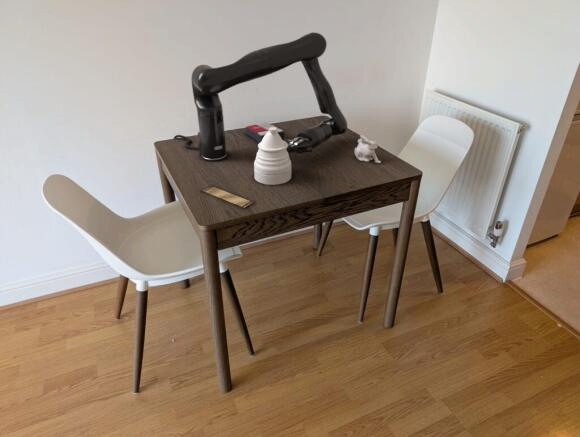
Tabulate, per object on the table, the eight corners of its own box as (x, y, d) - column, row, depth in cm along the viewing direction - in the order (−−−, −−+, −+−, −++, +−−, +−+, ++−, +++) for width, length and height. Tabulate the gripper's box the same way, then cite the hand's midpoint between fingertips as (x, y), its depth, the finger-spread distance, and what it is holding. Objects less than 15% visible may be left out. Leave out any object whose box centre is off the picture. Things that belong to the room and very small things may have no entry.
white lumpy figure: (382, 162, 158) (385, 138, 153) (366, 167, 155) (369, 142, 150) (360, 152, 167) (363, 128, 162) (345, 156, 163) (347, 132, 158)
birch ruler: (203, 191, 139) (203, 190, 138) (212, 186, 141) (212, 186, 141) (244, 208, 129) (244, 207, 129) (253, 203, 132) (252, 202, 132)
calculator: (267, 121, 187) (284, 129, 176) (267, 130, 189) (284, 139, 178) (244, 125, 182) (261, 134, 171) (245, 135, 184) (261, 144, 173)
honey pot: (294, 182, 144) (295, 131, 135) (257, 186, 142) (254, 134, 132) (287, 167, 155) (287, 119, 145) (252, 170, 153) (249, 121, 143)
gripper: (297, 124, 162) (268, 137, 150) (326, 132, 155) (298, 146, 143) (296, 143, 166) (268, 157, 154) (325, 151, 159) (298, 166, 147)
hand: (283, 152), depth 148 cm, fingers closed
